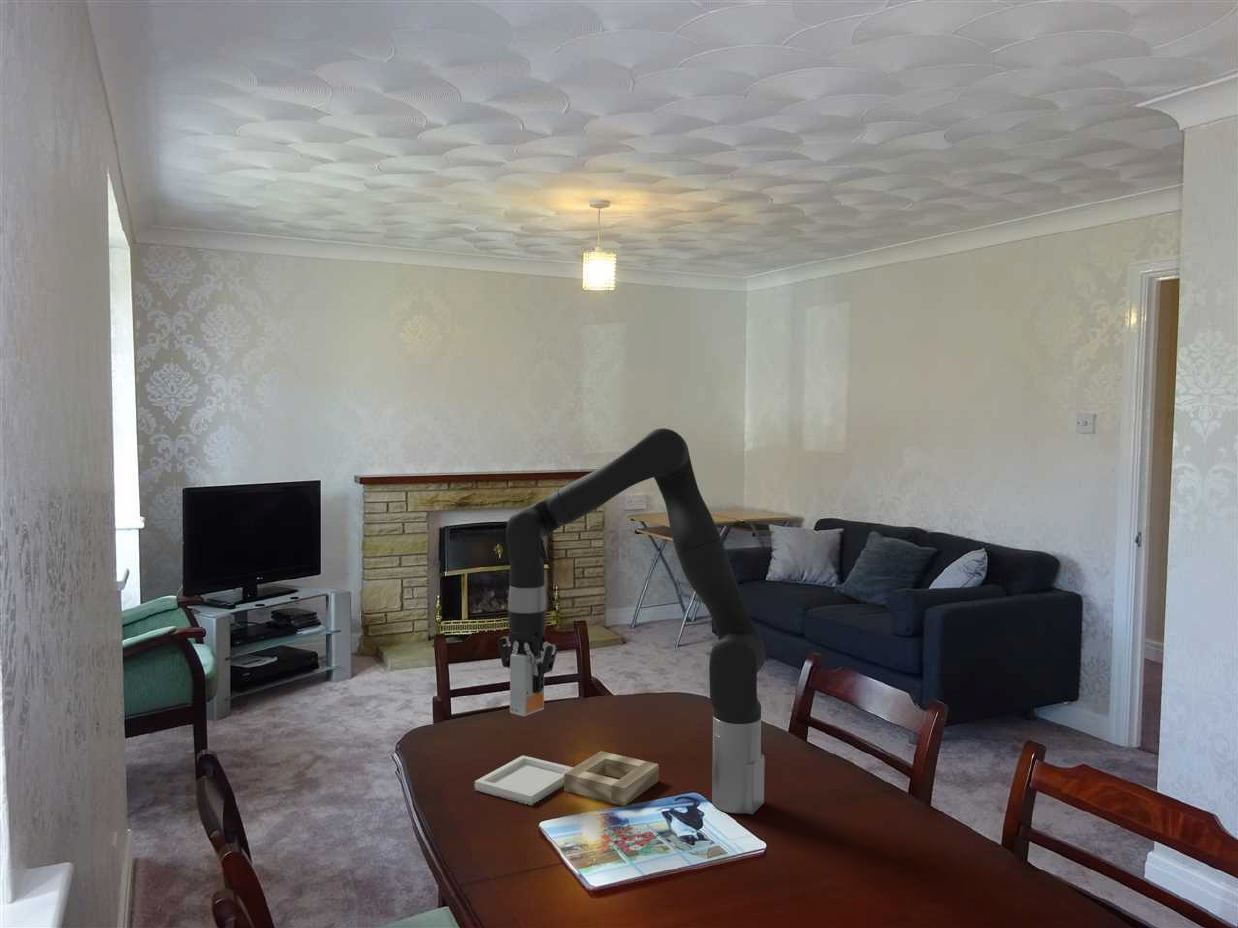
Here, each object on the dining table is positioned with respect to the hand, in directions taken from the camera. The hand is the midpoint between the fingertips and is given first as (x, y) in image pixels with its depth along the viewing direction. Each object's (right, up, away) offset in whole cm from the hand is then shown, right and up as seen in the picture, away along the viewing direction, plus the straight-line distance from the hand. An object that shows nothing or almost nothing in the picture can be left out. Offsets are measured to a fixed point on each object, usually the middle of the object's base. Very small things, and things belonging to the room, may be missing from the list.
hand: (527, 690), depth 178 cm
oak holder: (+17, -19, 0) cm, 26 cm away
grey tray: (0, -19, +1) cm, 19 cm away
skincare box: (0, -5, 0) cm, 5 cm away
